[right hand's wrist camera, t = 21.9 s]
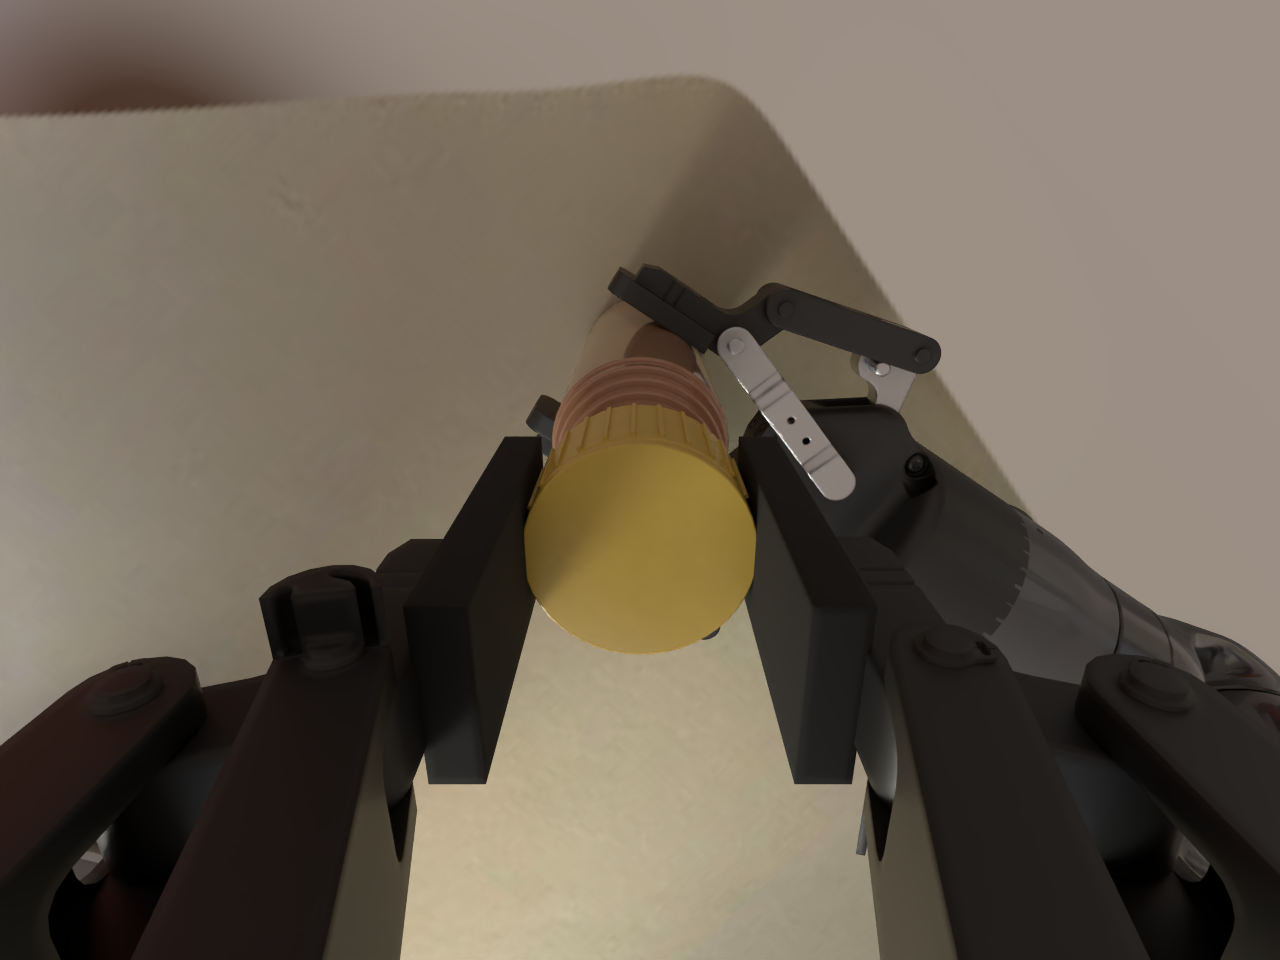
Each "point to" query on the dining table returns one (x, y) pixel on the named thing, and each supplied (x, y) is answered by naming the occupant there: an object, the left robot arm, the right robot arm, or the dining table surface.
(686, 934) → the dining table surface
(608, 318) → the bottle
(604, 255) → the dining table surface
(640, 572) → the cap
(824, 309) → the left robot arm
